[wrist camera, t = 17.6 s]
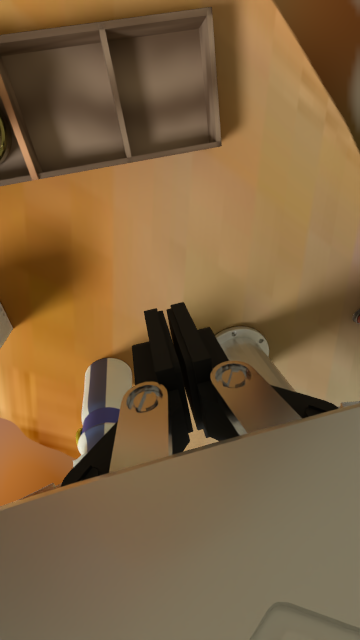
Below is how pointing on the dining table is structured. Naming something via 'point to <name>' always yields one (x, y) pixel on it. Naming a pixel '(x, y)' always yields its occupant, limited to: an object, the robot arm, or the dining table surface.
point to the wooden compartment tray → (108, 93)
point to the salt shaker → (4, 137)
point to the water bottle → (101, 400)
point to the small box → (4, 326)
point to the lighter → (356, 317)
